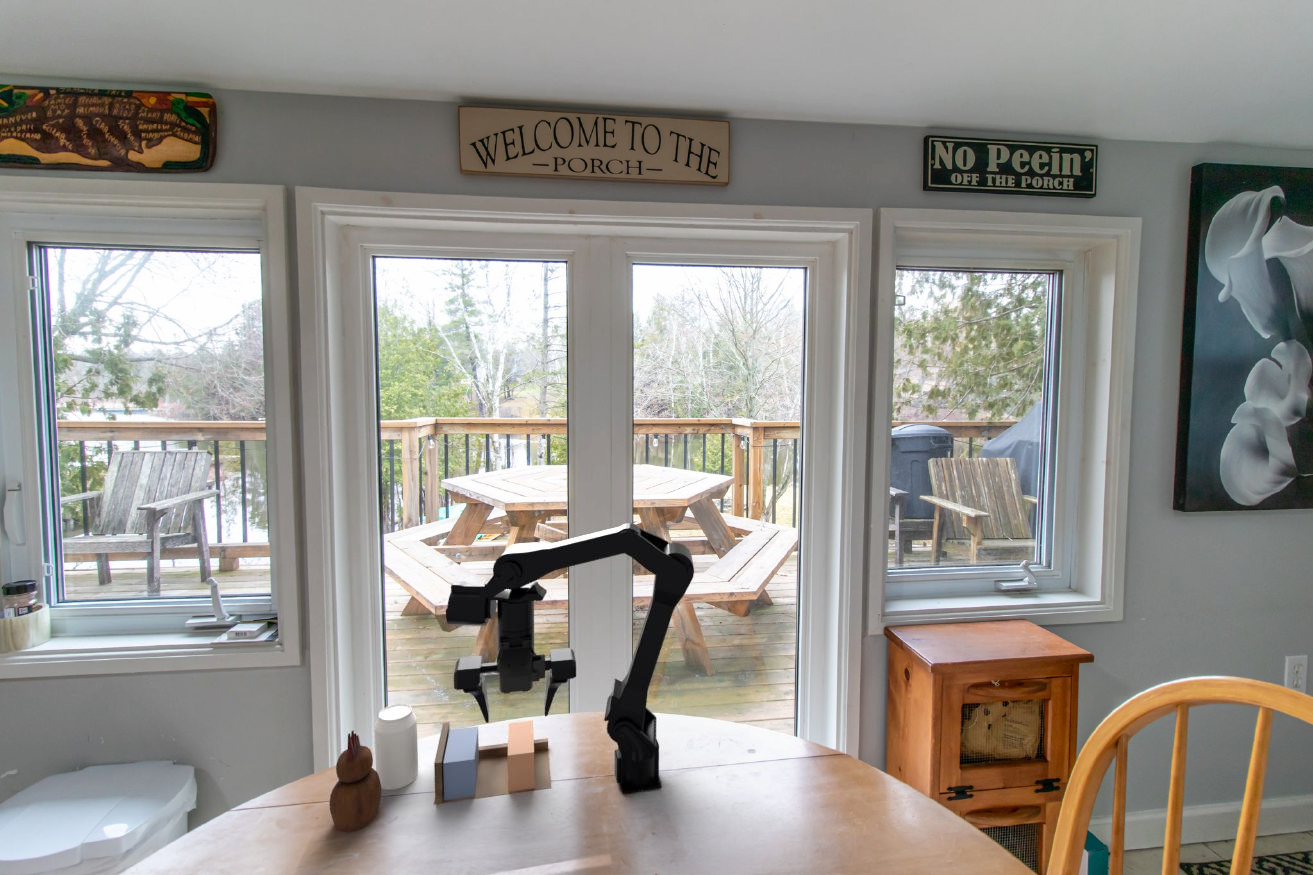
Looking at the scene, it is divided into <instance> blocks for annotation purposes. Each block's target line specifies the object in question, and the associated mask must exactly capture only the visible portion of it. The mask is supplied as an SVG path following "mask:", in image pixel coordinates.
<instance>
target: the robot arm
mask: <svg viewBox="0 0 1313 875" xmlns="http://www.w3.org/2000/svg"><path fill="white" fill-rule="evenodd" d="M623 554H625V555H627V556H628V557H630V558H632V559H633V560H634V561H636V562H637V563H638V564H639V565H640V566H642V567H643V568H644V569H646V570H647V571H648V572H650V573H651V574H653V575H654V578H653V587H652V588H653V589H652V595H651V596H652V597H651V600H650V601H649V605H648V609H647V612H646V616H645V618H644V621H643V624H642V627H641V631H640V634H639V636H638V639H637V643H636V647H635V650H634V653H633V656H632V658H631V662H630V665H629V669H628V671H627V674H625V677H624V678H623V680H622V681H621V680H619V679H617V678H614V680H613V686H612V690H611V693H610V695H609V696H608V697H607V701H606V706H605V713H604V718H603V719H604V720H603V721H604V722H606V732H607V734H608V736H609V738H610V739H611V740H612V741H613V742H614V743H616V744H617V749H615V750H614V776H615V781H616V783H617V784H619V789H620V792H621V794H631V793H632V794H633V793H637V792H645V791H651V790H652V791H653V790H658V789H659V790H660V789H661V788H662V786H663V784H662V782H661V778H660V744H659V741H658V739H657V716H656V715H655V714H654V713H653V712H652V711H651V710H650V709H649V708H648V707H647V703H648V693H649V688H650V685H651V682H652V678H653V676H654V673H655V669H656V666H657V664H658V660H659V656H660V654H661V651H662V648H663V645H664V641H665V639H666V638H665V637H666V635H667V631H668V629H669V626H670V623H671V619H672V616H673V614H674V610H675V609H676V607H677V605H679V603H680V602H681V600H682V599H683V598H684V596H685V594H686V592H687V590H688V588H689V587H690V584H691V583H692V581H693V578H694V577H695V576H694V574H695V568H694V562H693V556H692V553H691V551H690V549H689V548H688V547H687V546H685V545H684V544H683V543H680V542H669V541H668V540H666V539H665V538H662V537H661V536H658V535H656V534H654V533H652V532H649V531H646V530H644V529H643V528H642V527H639V526H638V525H636V524H635V523H632V522H627V523H623V524H622V525H620V526H616V527H613V528H608V529H604V530H600V531H595V532H593V533H588V534H583V535H580V536H575V537H571V538H567V539H564V540H560V541H556V542H536V541H535V542H521V543H518V542H517V543H514V544H511V545H509V546H508V547H507V548H506V549H505V550H504V551H503V552H502V553H501V555H499V557H497V559H495V562H494V564H493V568H492V572H493V574H492V575H491V576H490V577H489V578H488V579H487V580H486V581H485V582H467V581H463V580H455V581H454V582H453V583H452V584H451V585H450V594H449V597H448V600H447V605H446V606H447V607H446V608H445V619H446V623H447V625H448V626H460V627H462V626H468V627H469V626H470V627H474V626H475V627H485V626H487V625H488V623H489V621H490V620H494V619H495V617H497V618H496V619H497V656H496V661H495V662H487V663H485V662H483V655H472V656H462V657H459V658H458V660H456V661H455V662H456V663H455V668H454V670H453V689H454V690H456V691H461V690H462V691H463V693H464V694H470V695H472V696H473V698H475V701H476V703H477V705H478V706H479V709H480V711H481V714H482V717H483V719H484V722H485V723H486V724H488V723H489V722H490V709H489V708H490V707H489V706H490V705H489V701H488V700H489V698H488V690H487V682H486V681H487V680H486V677H493V676H494V677H495V676H499V691H500V692H501V693H502V694H510V693H515V692H525V693H526V692H530V691H531V690H532V689H533V683H537V682H540V679H541V680H542V679H545V678H546V685H545V693H544V708H543V710H544V717H548V715H549V712H550V709H551V706H552V704H553V700H554V697H555V695H556V693H557V691H558V689H559V687H560V686H561V685H562V684H567V683H568V682H569V680H571V679H572V680H573V679H575V678H577V661H576V660H577V659H576V655H575V651H574V650H573V649H572V648H571V647H566V648H565V647H564V648H552V649H549V657H546V655H545V654H543V653H542V654H537V652H536V651H535V602H542V601H543V600H544V598H545V597H546V594H547V593H548V591H547V589H545V587H544V586H542V585H540V584H539V582H538V580H539V579H542V578H543V577H545V576H546V575H548V574H551V573H553V572H555V571H558V570H562V569H565V568H571V567H575V566H577V565H584V564H585V563H591V562H595V561H599V560H602V559H606V558H607V559H608V558H612V557H615V556H619V555H623ZM531 583H532V584H531ZM529 584H531V585H530V586H529ZM526 585H527V586H526ZM496 614H497V616H496ZM546 671H547V673H546Z"/></svg>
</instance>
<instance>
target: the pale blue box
mask: <svg viewBox="0 0 1313 875" xmlns="http://www.w3.org/2000/svg"><path fill="white" fill-rule="evenodd" d="M479 747H480V745H479V726H470V727H462V728H453V729H450V731H449V737H448V742H447V747H446V752H445V757H444V762H443V773H444V801H445V800H452V799H459V798H466V797H473V796H475V793H476V783H477V773H478V764H479Z"/></svg>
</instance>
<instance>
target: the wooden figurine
mask: <svg viewBox="0 0 1313 875" xmlns="http://www.w3.org/2000/svg"><path fill="white" fill-rule="evenodd" d="M354 731H355V730H351V733H349V732H348V733H347V749H345V750H344V751H342V752H341V754H340V755H339V756H338V759H337V762H336V764H335V765H336V766H335V771H336V777H337V779H338V781H337V782H336V783H335V785H334V787H333V788H332V790H331V794H330V797H329V811H330V815H331V818H332V822H333V824H334V826H335V827H336V828H337V829H338V830H340V831H341V832H347V833H349V832H355V831H358V830H360V829H363V828H364V827H366V826H368V824H370V823H371V822H372V821H373V820H374V819H375V817H376V815H377V812H378V809H379V806H380V802H381V799H382V788H381V783H380V778H379V775H378V773H377V772H376V769H375V768H373V764H374V763H373V762H374V758H373V753H372V750H371V749H370V748H369V747H368V746H367V745H361V742H360V736H359V735H357V733H355V732H354Z"/></svg>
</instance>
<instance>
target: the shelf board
mask: <svg viewBox="0 0 1313 875" xmlns="http://www.w3.org/2000/svg"><path fill="white" fill-rule="evenodd" d="M450 730H451V728H450V722H449V721H448V722H447V721H446V722H443V723H442V727H441V730H440V735H439V739H438V744H437V748H436V752H435V754H436V755H435V758H434V763H433V765H434V766H433V767H434V768H433V769H434V772H433V773H434V800H433V806H435V805H441V804H448V803H454V802H462V801H469V800H470V801H471V800H476V799H482V798H490V797H496V796H502V795H503V796H504V795H510V794H512V795H513V794H520V793H525V792H533V791H538V790H545V789H547V790H548V789H552V777H551V768H550V764H551V763H550V754H549V738H548V737H547V738H546V737H545V738H539V739H534V783H535V788H534V789H527V790H520V791H513V792H508V742H507V743H498V744H491V745H490V744H489V745H481V746H479V764H478V773H477V783H476V793H475V796H473V797H466V798H459V799H452V800H445V801H444V773H443V762H444V757H445V752H446V747H447V742H448V737H449V731H450Z"/></svg>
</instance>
